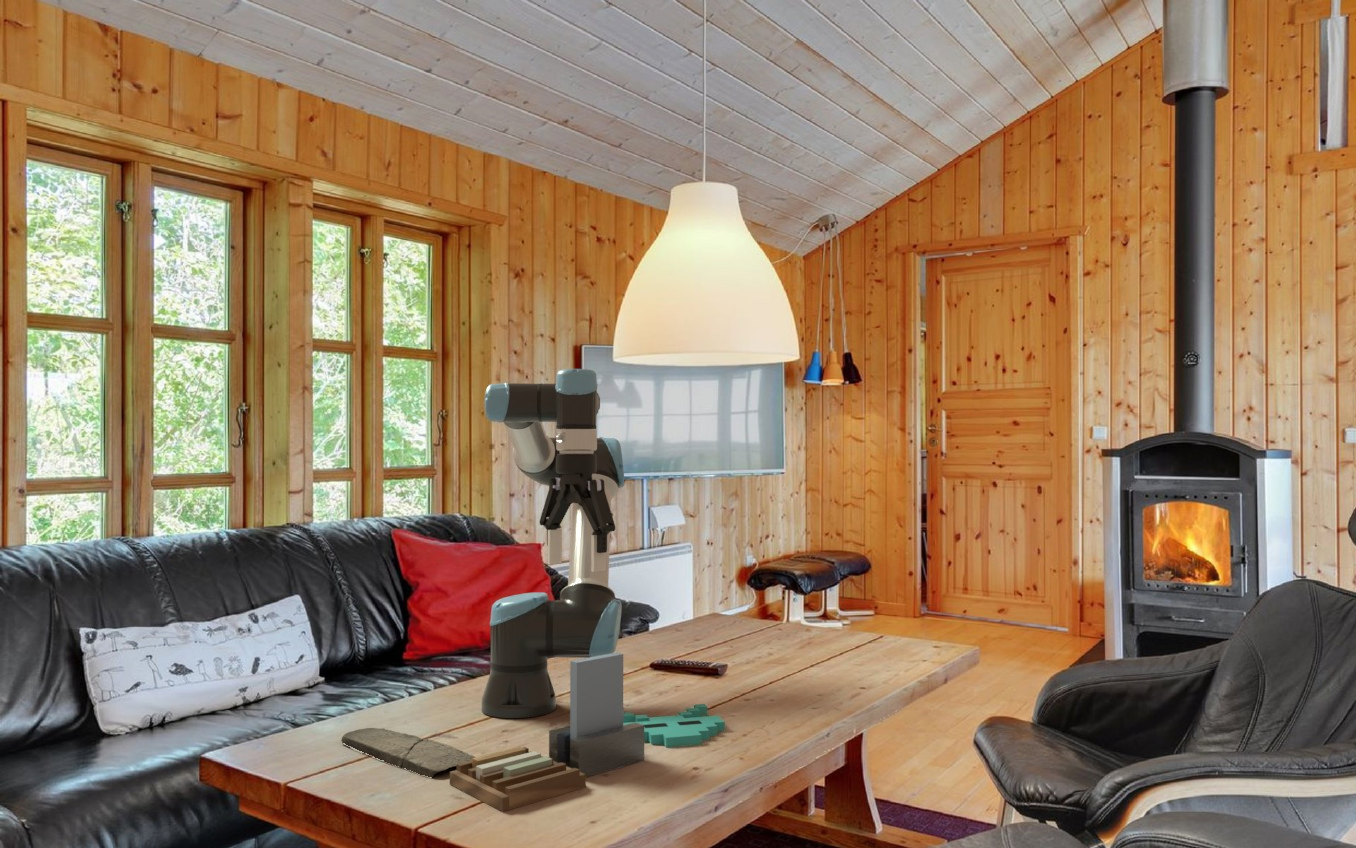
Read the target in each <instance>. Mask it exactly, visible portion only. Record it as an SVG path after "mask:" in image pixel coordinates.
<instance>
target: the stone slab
mask: <svg viewBox="0 0 1356 848" xmlns="http://www.w3.org/2000/svg"><path fill="white" fill-rule="evenodd" d="M341 743H342V744H343V743H345V744H346V745H348V746H351V747H353V748H355V749H357V750H359V751H362V752H364V753H367V754H369V755H372V756H374V757H375V758H378V759H380V760H384V761H385V762H387V763H390V764H393V765H396V766H399V767H403V768H406V769H407V770H411V771H413V772H416V773H418V774H420V775H419V776H421V775H425V776H428V777H433V778H434V776H435V775H436V774H437V773H440V772H442V771H446V770H447V769H450V768H454V767H456V766H457V764H458V763H462V762H466V761H470V760H472V758H476V757H477V756H474V755H472V754H469V753H468V752H466V751H463V750H460V749H458V748H456V747H454V746H452V745H448V744H445V743H443V742H439V741H435V740H432V739H427V738H426V739H424V738H421V737H419V736H417V735H413V734H407V733H404V732H400V731H394V730H391V729H385V728H377V727H367V728H361V729H360V728H359V729H355V730H352V731H348V732H346V733H345V734H343V736H342V737H341ZM387 763H386V764H387ZM390 764H389V765H390ZM393 765H392V766H393ZM407 770H406V771H407ZM413 772H412V773H413ZM416 773H415V774H416ZM418 774H417V775H418ZM428 777H427V778H428Z"/></svg>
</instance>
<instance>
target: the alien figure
mask: <svg viewBox="0 0 1356 848" xmlns="http://www.w3.org/2000/svg"><path fill="white" fill-rule="evenodd" d="M702 715H705V716H702ZM635 722H636V723H639V724H642V725H644V741H645V742H648V741H649V742H648V743H649V744H650V743H651V744H655V745H664V747H665V748H677V746H678V747H687V746H688V747H690V746H699V745H701V746H702V743H703V741H710V740H711V739H710V737H712V736H713V737H714V736H718V732H717V731H720V732H725V731H726V722H725V720H723V718H721V717H720V716H719V715H709V716H708V705H706V703H696V704H695V703H694V704H693V707H686V709H685V711H678V714H677V715H665V716H654V717H651V716H648V715H647V714H636V715H635V714H634V713H633V711H632V712H630V711H629V712H623V725H627V724H631V723H635ZM651 744H650V745H651Z"/></svg>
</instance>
